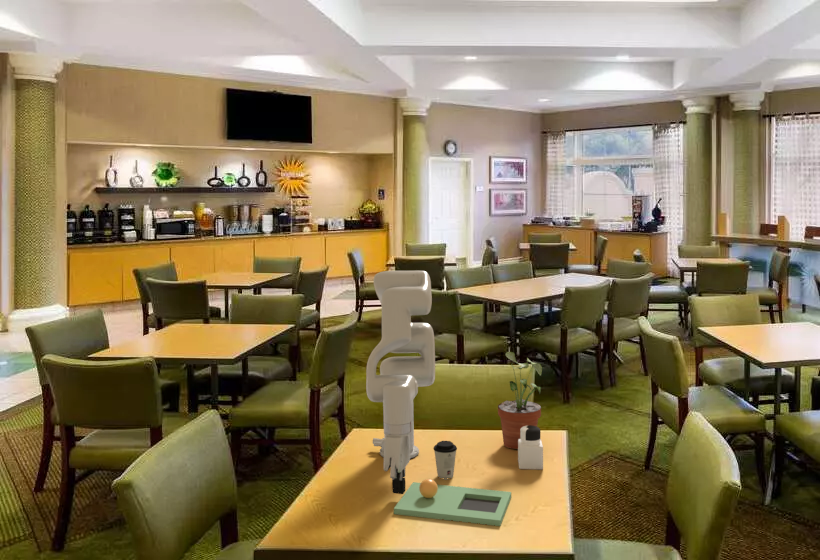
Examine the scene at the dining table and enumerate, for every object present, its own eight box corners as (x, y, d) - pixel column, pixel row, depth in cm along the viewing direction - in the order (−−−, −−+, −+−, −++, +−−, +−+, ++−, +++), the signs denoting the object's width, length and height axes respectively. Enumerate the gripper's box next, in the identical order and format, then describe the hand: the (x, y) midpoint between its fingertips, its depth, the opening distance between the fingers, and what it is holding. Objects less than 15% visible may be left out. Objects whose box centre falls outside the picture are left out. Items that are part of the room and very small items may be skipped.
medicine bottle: (541, 461, 224) (541, 423, 223) (543, 469, 217) (543, 431, 216) (517, 460, 225) (518, 423, 223) (519, 469, 218) (519, 430, 216)
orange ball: (417, 500, 193) (416, 482, 193) (422, 492, 198) (421, 475, 197) (435, 502, 192) (435, 484, 191) (439, 494, 197) (439, 476, 196)
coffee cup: (455, 481, 209) (455, 448, 208) (431, 480, 210) (431, 447, 209) (458, 472, 216) (458, 440, 215) (435, 471, 217) (435, 439, 216)
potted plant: (534, 456, 228) (534, 347, 224) (490, 448, 236) (490, 343, 232) (552, 442, 241) (552, 338, 237) (509, 434, 249) (509, 335, 245)
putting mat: (393, 513, 188) (393, 508, 188) (413, 487, 206) (413, 482, 205) (500, 526, 180) (500, 520, 180) (511, 497, 198) (511, 492, 197)
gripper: (393, 418, 203) (394, 480, 205) (375, 435, 189) (376, 502, 191) (418, 420, 201) (419, 483, 203) (402, 437, 187) (403, 505, 189)
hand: (398, 492), depth 197 cm, fingers closed
